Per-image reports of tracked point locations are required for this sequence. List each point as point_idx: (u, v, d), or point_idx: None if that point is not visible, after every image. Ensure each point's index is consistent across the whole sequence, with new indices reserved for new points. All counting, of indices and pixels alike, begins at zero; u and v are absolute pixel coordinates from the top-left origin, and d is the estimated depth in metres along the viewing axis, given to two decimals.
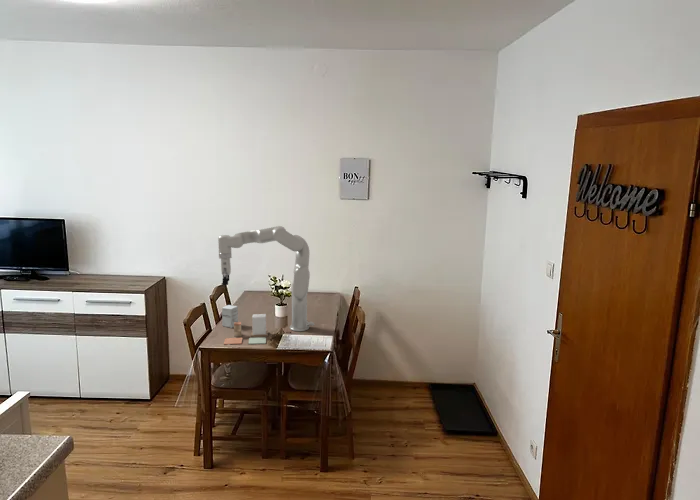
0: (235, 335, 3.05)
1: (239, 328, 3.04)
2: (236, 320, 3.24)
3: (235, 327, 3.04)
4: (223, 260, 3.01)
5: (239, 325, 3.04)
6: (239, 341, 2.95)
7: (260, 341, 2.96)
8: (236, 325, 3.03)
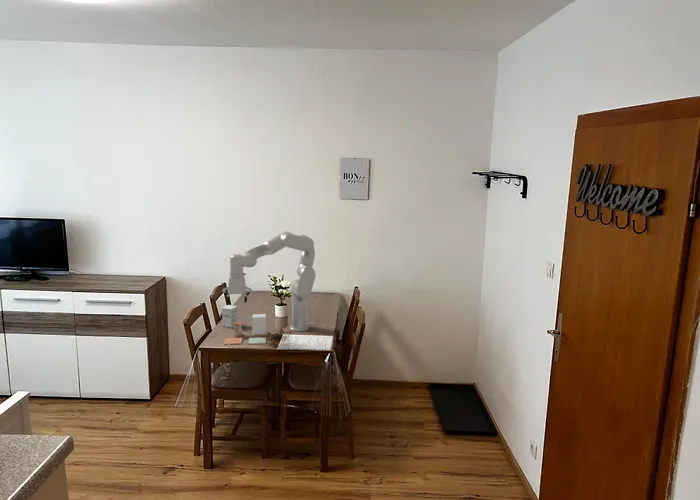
0: (235, 335, 3.05)
1: (239, 328, 3.04)
2: (236, 320, 3.24)
3: (235, 327, 3.04)
4: (244, 278, 3.00)
5: (239, 325, 3.04)
6: (239, 341, 2.95)
7: (260, 341, 2.96)
8: (236, 325, 3.03)
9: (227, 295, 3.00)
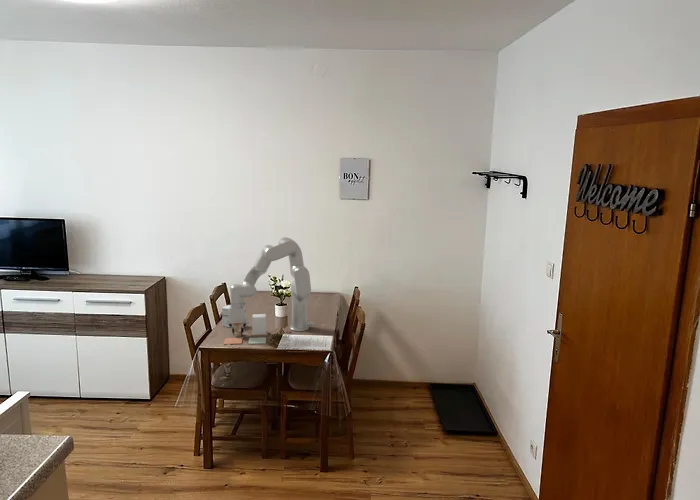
0: (235, 335, 3.05)
1: (239, 328, 3.04)
2: None
3: (235, 327, 3.04)
4: (244, 308, 3.04)
5: (239, 325, 3.04)
6: (239, 341, 2.95)
7: (260, 341, 2.96)
8: (236, 325, 3.03)
9: (232, 327, 3.04)
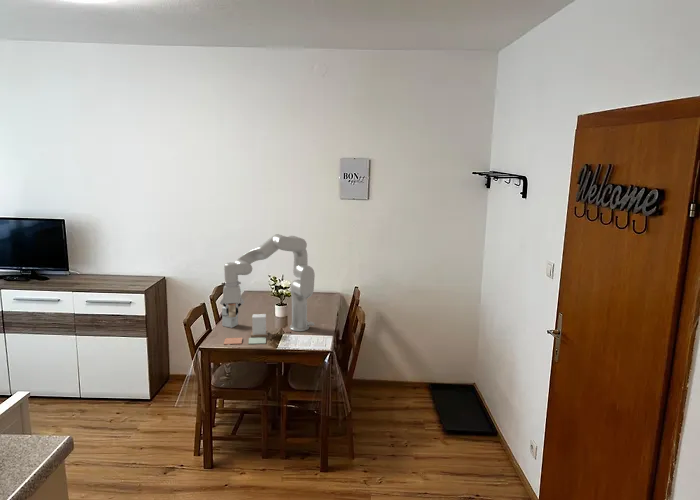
0: (229, 315, 2.92)
1: (234, 308, 2.91)
2: (236, 320, 3.24)
3: (229, 307, 2.91)
4: (239, 287, 2.91)
5: (234, 305, 2.91)
6: (239, 341, 2.95)
7: (260, 341, 2.96)
8: (231, 305, 2.90)
9: (226, 307, 2.91)
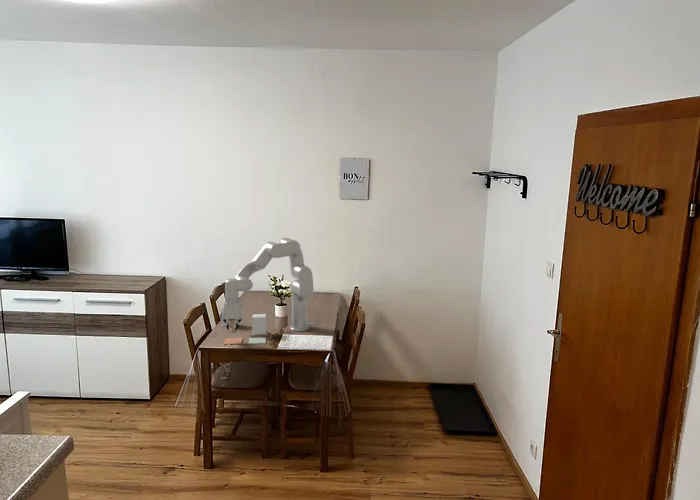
0: (230, 331, 2.93)
1: (234, 324, 2.93)
2: None
3: (230, 323, 2.92)
4: (239, 303, 2.92)
5: (234, 321, 2.92)
6: (239, 341, 2.95)
7: (260, 341, 2.96)
8: (231, 321, 2.92)
9: (226, 322, 2.93)
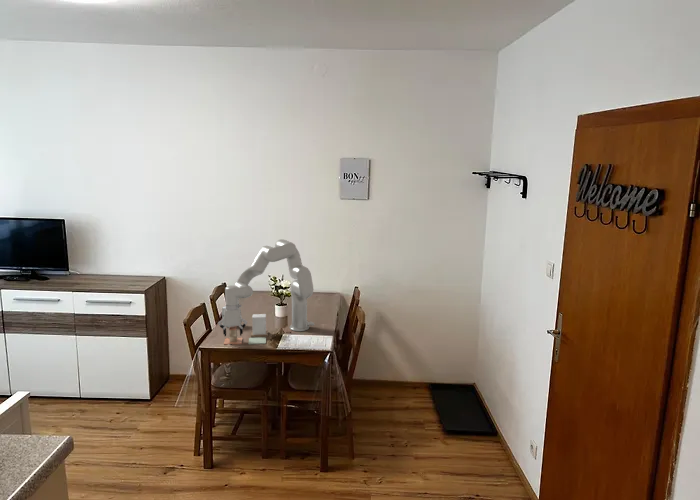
0: (230, 340, 2.94)
1: (234, 333, 2.94)
2: None
3: (230, 332, 2.94)
4: (240, 310, 2.93)
5: (234, 330, 2.94)
6: (239, 341, 2.95)
7: (260, 341, 2.96)
8: (231, 330, 2.93)
9: None
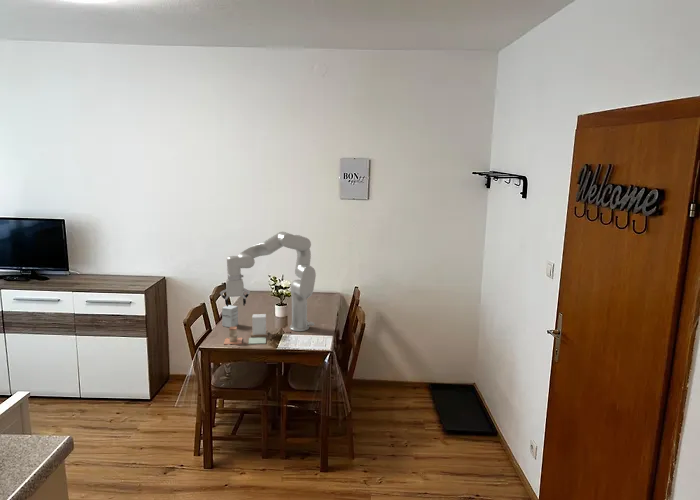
0: (230, 340, 2.94)
1: (234, 333, 2.94)
2: (236, 320, 3.24)
3: (230, 332, 2.94)
4: (242, 280, 2.93)
5: (234, 330, 2.94)
6: (239, 341, 2.95)
7: (260, 341, 2.96)
8: (231, 330, 2.93)
9: (225, 298, 2.93)
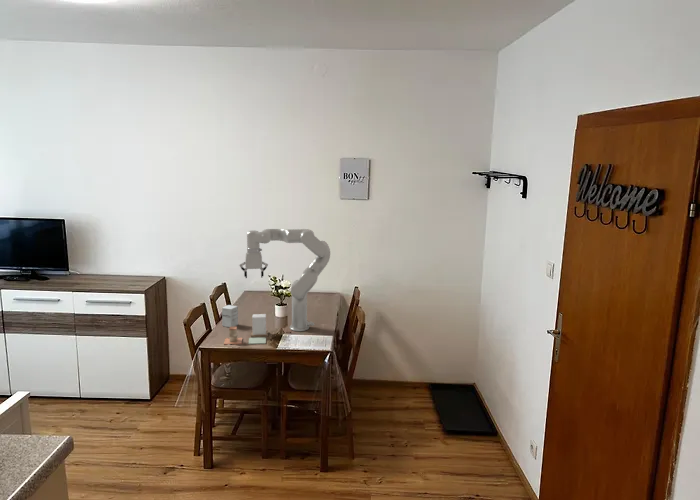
0: (230, 340, 2.94)
1: (234, 333, 2.94)
2: (236, 320, 3.24)
3: (230, 332, 2.94)
4: (260, 254, 3.11)
5: (234, 330, 2.94)
6: (239, 341, 2.95)
7: (260, 341, 2.96)
8: (231, 330, 2.93)
9: (244, 270, 3.11)
